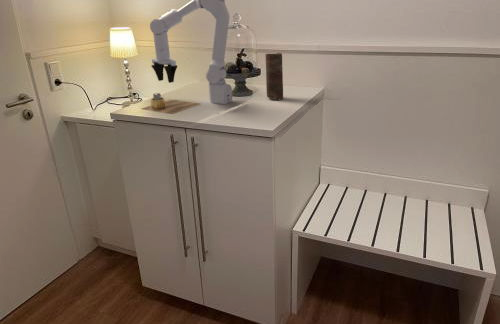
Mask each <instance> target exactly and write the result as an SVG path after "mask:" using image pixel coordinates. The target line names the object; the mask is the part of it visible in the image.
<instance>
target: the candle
mask: <svg viewBox="0 0 500 324" xmlns="http://www.w3.org/2000/svg"><path fill="white" fill-rule="evenodd" d="M283 77H284V76H283V53H282V52H277V53H265V82H266V83H265V84H266V85H265V86H266V98H268V99H270V100H273V101H280V100H279V99H281V100H282V99H284V79H283Z"/></svg>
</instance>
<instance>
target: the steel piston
mask: <svg viewBox="0 0 500 324" xmlns="http://www.w3.org/2000/svg"><path fill="white" fill-rule="evenodd" d="M161 97H162V95H161V93H160V92H158V93H157V92H156V93H153V94H152V98H154V100H161Z"/></svg>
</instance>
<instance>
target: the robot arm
mask: <svg viewBox="0 0 500 324" xmlns="http://www.w3.org/2000/svg"><path fill="white" fill-rule="evenodd" d="M199 9H204V10H206V11H207V12H209V13H210V14H211V15H212V16H213V18H214V19H215V27H214V29H215V30H214V38H213V46H212V47H213V48H212V54H211V56H212V57H211V61H210V63H209V68H208V70H207V72H206V74H205V76H206V77H205V78H206V80H207V82H208V91H209V92H208V93H209V103H210V104H219V105H227V104H229V103H231V102H233V89H232V88H233V87H232V86H231V84H229V83H227V82H226V80H225V78H226V77H227V70H226V69H227V68H226V62H225V58H226V57H225V55H226V50H227V49H226V48H227V39H228V30H229V26H230V25H229V24H230V13H229V10H228V8H227V5H226V1H225V0H190V1H189V2H188V3H186V4H185V5H183V6H182V7H180V8H178V9H177V8H170V9H168V10H167V12H166V13H164V14H162V15H159V16H158V18H154V19H153V20H152V21H150V25H149V29H150V31H151V32H152V33H153V43H154V49H155V58H152V59H151V63H152V64H151V68H152V69H153V70H154V73H155V75H156V78H157V81H159V82H161V81H164V70H165V72H166V76H167V77H166V78H167V81H168V83H174V82H175V75H176V74H175V73H176V71H177V68H178V65H177V61H176V60H173V58H171V56H170V45H169V38H168V37H169V36H168V32H169V30H171V29H172V28H174V27H176V26H177V25H179V24H180V23H182V21H183V18H184V17H185V16H188V15H189V14H191V13H193V12H194V11H197V10H199Z"/></svg>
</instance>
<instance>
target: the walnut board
mask: <svg viewBox="0 0 500 324" xmlns="http://www.w3.org/2000/svg"><path fill="white" fill-rule="evenodd" d="M164 101H165V107H164V108H160V109H153V108H152V106H151V105H148V106H146V107H142V108H141V107H140V110H145V111H150V112H151V111H152V112H157V113H164V114H169V115H173V114H178V113H180V112H182V111H185V110H189V109H190V108H193V107H196V106H200V105H201V103H199V102H198V103H197V102H193V101H192V102H191V101H186V100H177V99H167V100H164Z"/></svg>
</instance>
